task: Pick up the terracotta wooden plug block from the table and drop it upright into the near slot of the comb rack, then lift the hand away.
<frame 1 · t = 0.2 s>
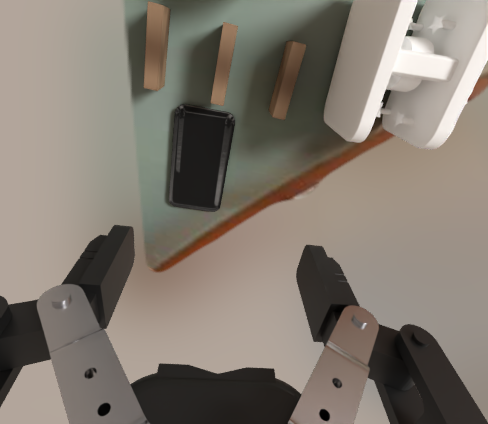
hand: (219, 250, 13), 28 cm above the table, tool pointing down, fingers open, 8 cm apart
cable organizer: (374, 62, 35), on the table
comb rack: (223, 64, 35), on the table
phone: (200, 160, 41), on the table
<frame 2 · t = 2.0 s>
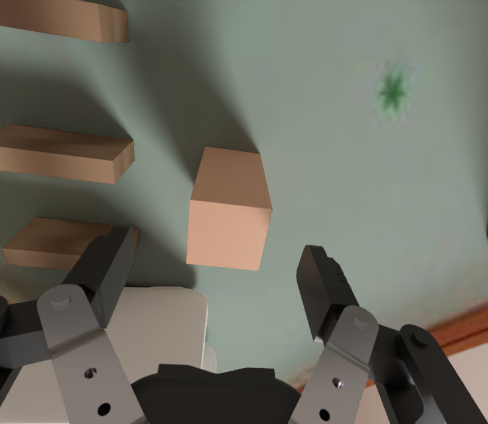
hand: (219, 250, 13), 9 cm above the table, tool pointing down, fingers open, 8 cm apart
cable organizer: (146, 316, 30), on the table
plug block: (229, 175, 22), on the table
comb rack: (75, 142, 20), on the table
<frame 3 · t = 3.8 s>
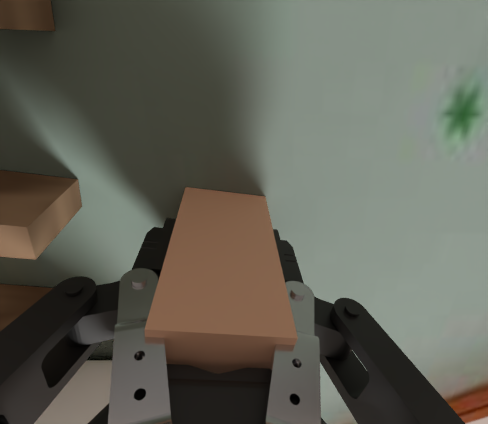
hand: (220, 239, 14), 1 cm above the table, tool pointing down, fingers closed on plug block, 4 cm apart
cable organizer: (115, 386, 23), on the table
plug block: (221, 224, 15), on the table, touching gripper
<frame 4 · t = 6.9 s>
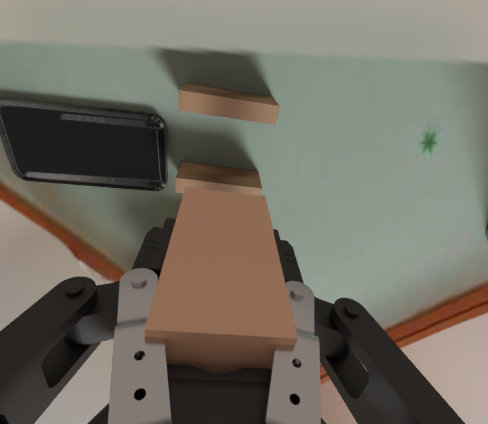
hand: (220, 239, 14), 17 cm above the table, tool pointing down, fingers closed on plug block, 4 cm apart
plug block: (221, 224, 15), point 15 cm above the table, touching gripper
comb rack: (219, 173, 30), on the table
phone: (91, 145, 29), on the table
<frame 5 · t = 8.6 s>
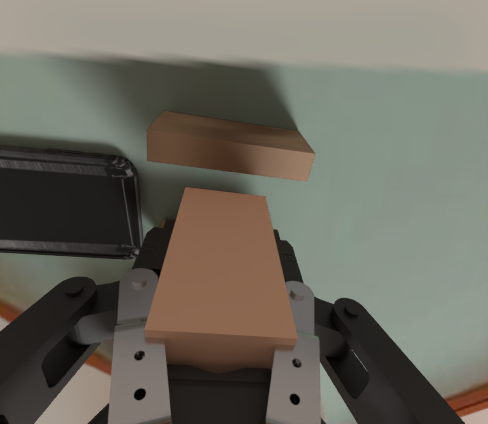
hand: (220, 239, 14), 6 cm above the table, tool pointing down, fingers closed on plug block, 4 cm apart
plug block: (221, 224, 15), point 4 cm above the table, touching gripper
comb rack: (218, 234, 21), on the table
phone: (30, 197, 20), on the table
when the fingers open (3 cm above the table, at t = 10.1 s): plug block drops 1 cm, resting in comb rack.
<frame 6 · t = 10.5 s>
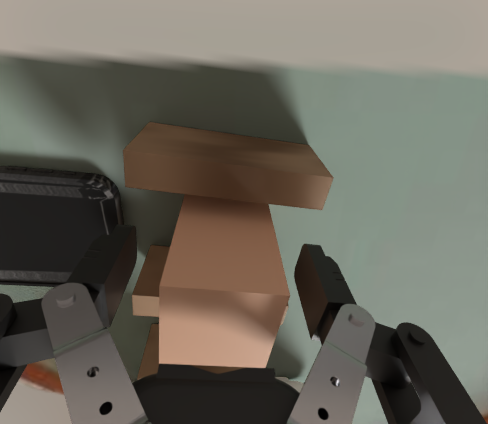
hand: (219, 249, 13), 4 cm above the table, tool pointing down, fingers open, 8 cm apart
plug block: (223, 210, 17), resting in comb rack
comb rack: (214, 260, 18), on the table
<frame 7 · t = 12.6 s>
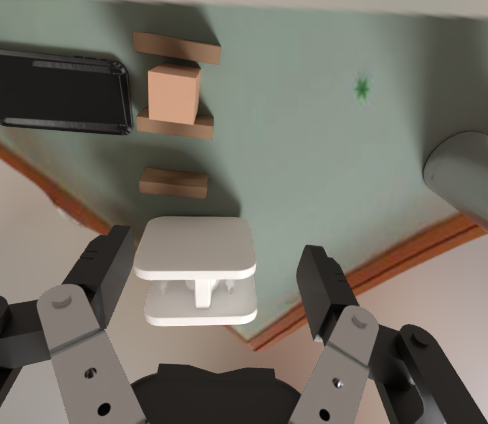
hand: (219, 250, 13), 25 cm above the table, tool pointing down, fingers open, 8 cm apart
cable organizer: (204, 241, 44), on the table
plug block: (181, 85, 32), resting in comb rack
comb rack: (179, 119, 34), on the table
phone: (63, 92, 32), on the table
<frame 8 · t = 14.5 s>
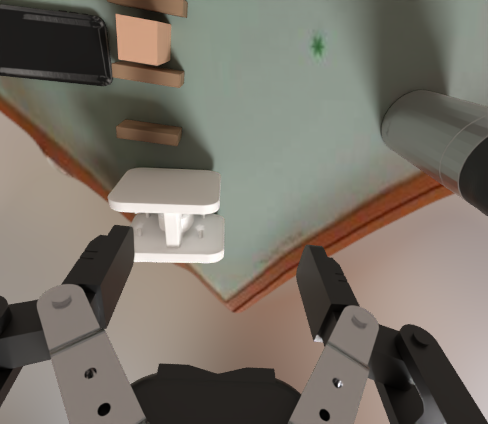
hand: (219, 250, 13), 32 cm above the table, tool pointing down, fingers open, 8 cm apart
cable organizer: (180, 195, 48), on the table
plug block: (154, 40, 36), resting in comb rack
comb rack: (153, 72, 38), on the table
phone: (50, 46, 36), on the table
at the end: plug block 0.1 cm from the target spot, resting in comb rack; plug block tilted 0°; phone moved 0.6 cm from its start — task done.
